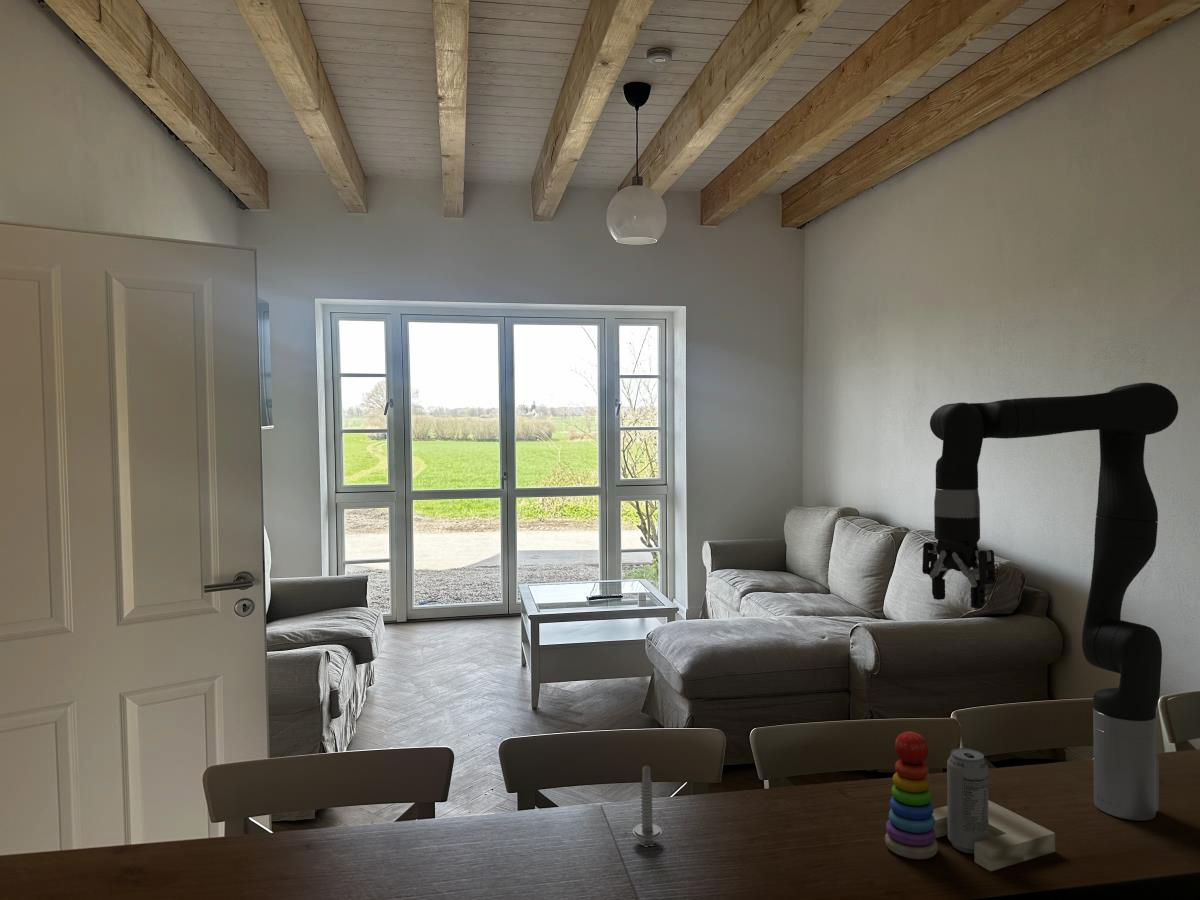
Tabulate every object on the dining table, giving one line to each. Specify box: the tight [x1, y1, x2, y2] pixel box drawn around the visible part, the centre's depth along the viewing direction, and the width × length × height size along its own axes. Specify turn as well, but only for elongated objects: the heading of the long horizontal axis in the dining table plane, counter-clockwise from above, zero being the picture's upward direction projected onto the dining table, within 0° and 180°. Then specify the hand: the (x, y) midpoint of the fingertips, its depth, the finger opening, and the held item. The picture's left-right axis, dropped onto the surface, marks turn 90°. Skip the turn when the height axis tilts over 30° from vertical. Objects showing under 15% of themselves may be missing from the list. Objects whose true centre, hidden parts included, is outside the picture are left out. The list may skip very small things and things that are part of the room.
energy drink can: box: [946, 747, 989, 855], centre depth 128 cm, size 6×6×15 cm
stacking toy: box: [884, 730, 939, 860], centre depth 128 cm, size 8×8×19 cm
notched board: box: [932, 799, 1056, 872], centre depth 130 cm, size 14×14×3 cm
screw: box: [632, 765, 663, 846], centre depth 131 cm, size 13×5×5 cm
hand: (957, 603), depth 143 cm, fingers open, 8 cm apart
